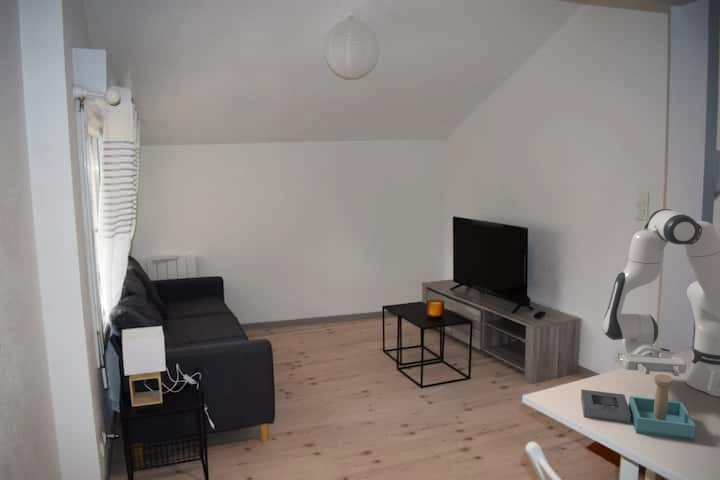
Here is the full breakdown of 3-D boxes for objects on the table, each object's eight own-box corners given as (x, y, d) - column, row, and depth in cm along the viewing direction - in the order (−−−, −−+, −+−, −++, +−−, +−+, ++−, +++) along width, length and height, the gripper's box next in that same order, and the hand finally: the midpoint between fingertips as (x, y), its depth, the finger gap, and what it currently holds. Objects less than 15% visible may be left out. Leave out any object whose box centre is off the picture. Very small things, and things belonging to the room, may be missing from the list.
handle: (670, 420, 175) (674, 377, 172) (664, 427, 170) (668, 383, 168) (654, 415, 178) (658, 373, 176) (648, 422, 174) (651, 379, 171)
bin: (681, 416, 179) (682, 402, 178) (693, 441, 164) (695, 426, 163) (628, 409, 184) (629, 396, 183) (636, 432, 169) (637, 418, 168)
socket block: (623, 403, 188) (624, 394, 188) (629, 423, 175) (630, 413, 175) (580, 398, 193) (581, 389, 192) (583, 416, 180) (584, 407, 179)
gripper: (617, 346, 196) (631, 362, 183) (676, 350, 194) (695, 366, 180) (615, 363, 198) (629, 379, 184) (674, 366, 195) (692, 383, 182)
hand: (662, 373), depth 182 cm, fingers open, 8 cm apart
